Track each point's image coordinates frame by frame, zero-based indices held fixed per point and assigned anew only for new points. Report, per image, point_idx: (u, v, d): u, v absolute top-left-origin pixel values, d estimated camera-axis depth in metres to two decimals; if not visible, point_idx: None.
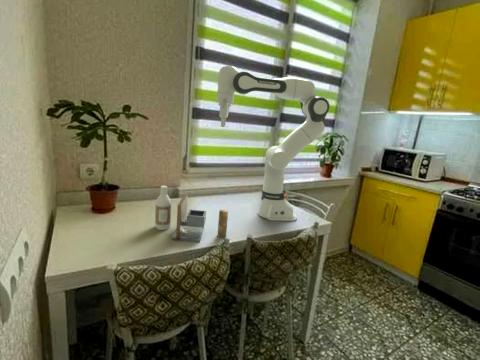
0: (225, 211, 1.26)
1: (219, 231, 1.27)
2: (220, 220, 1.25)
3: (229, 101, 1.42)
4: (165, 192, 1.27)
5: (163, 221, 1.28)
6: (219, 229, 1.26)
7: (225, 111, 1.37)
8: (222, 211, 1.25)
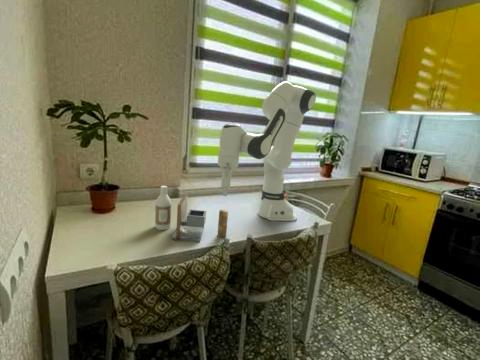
0: (225, 211, 1.26)
1: (219, 231, 1.27)
2: (220, 220, 1.25)
3: (233, 166, 1.17)
4: (165, 192, 1.27)
5: (163, 221, 1.28)
6: (219, 229, 1.26)
7: (228, 181, 1.12)
8: (222, 211, 1.25)
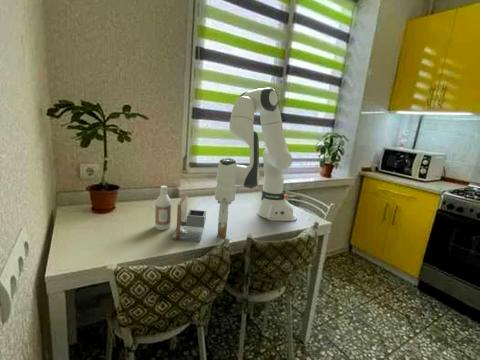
0: None
1: (219, 231, 1.27)
2: None
3: (230, 200, 1.21)
4: (165, 192, 1.27)
5: (163, 221, 1.28)
6: (219, 229, 1.26)
7: (225, 216, 1.16)
8: None
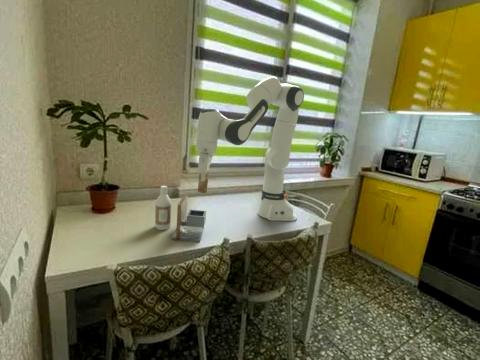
0: None
1: (199, 186, 1.21)
2: (200, 174, 1.20)
3: (211, 151, 1.15)
4: (165, 192, 1.27)
5: (163, 221, 1.28)
6: (199, 184, 1.21)
7: (205, 166, 1.10)
8: None
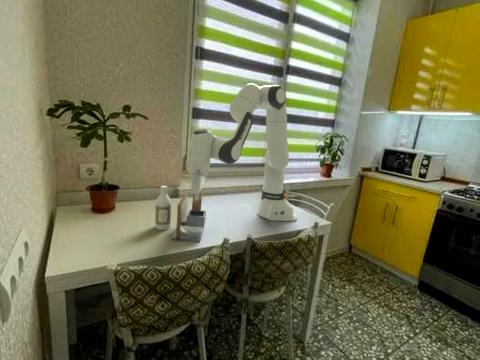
0: None
1: (193, 204, 1.23)
2: None
3: (204, 172, 1.18)
4: (165, 192, 1.27)
5: (163, 221, 1.28)
6: (193, 202, 1.23)
7: (197, 187, 1.13)
8: None
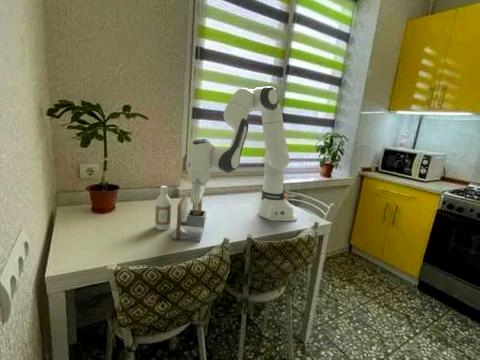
0: None
1: None
2: None
3: (203, 181, 1.19)
4: (165, 192, 1.27)
5: (163, 221, 1.28)
6: (193, 214, 1.25)
7: (197, 196, 1.14)
8: None
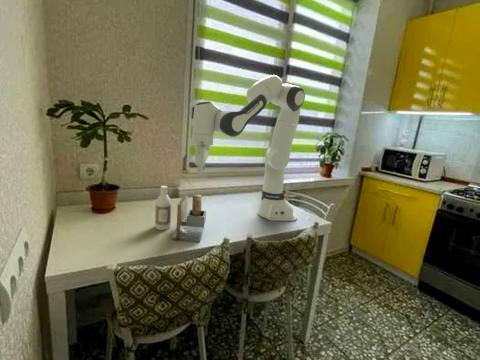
0: (198, 196, 1.24)
1: None
2: (193, 205, 1.24)
3: (207, 144, 1.16)
4: (165, 192, 1.27)
5: (163, 221, 1.28)
6: (193, 214, 1.25)
7: (202, 158, 1.11)
8: (195, 196, 1.24)
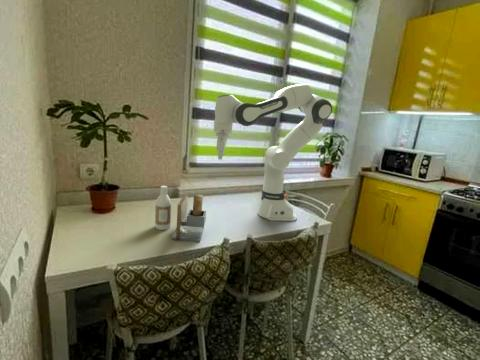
0: (200, 196, 1.24)
1: None
2: (194, 205, 1.24)
3: (227, 132, 1.32)
4: (165, 192, 1.27)
5: (163, 221, 1.28)
6: (193, 214, 1.25)
7: (223, 144, 1.27)
8: (196, 196, 1.24)
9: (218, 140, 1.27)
